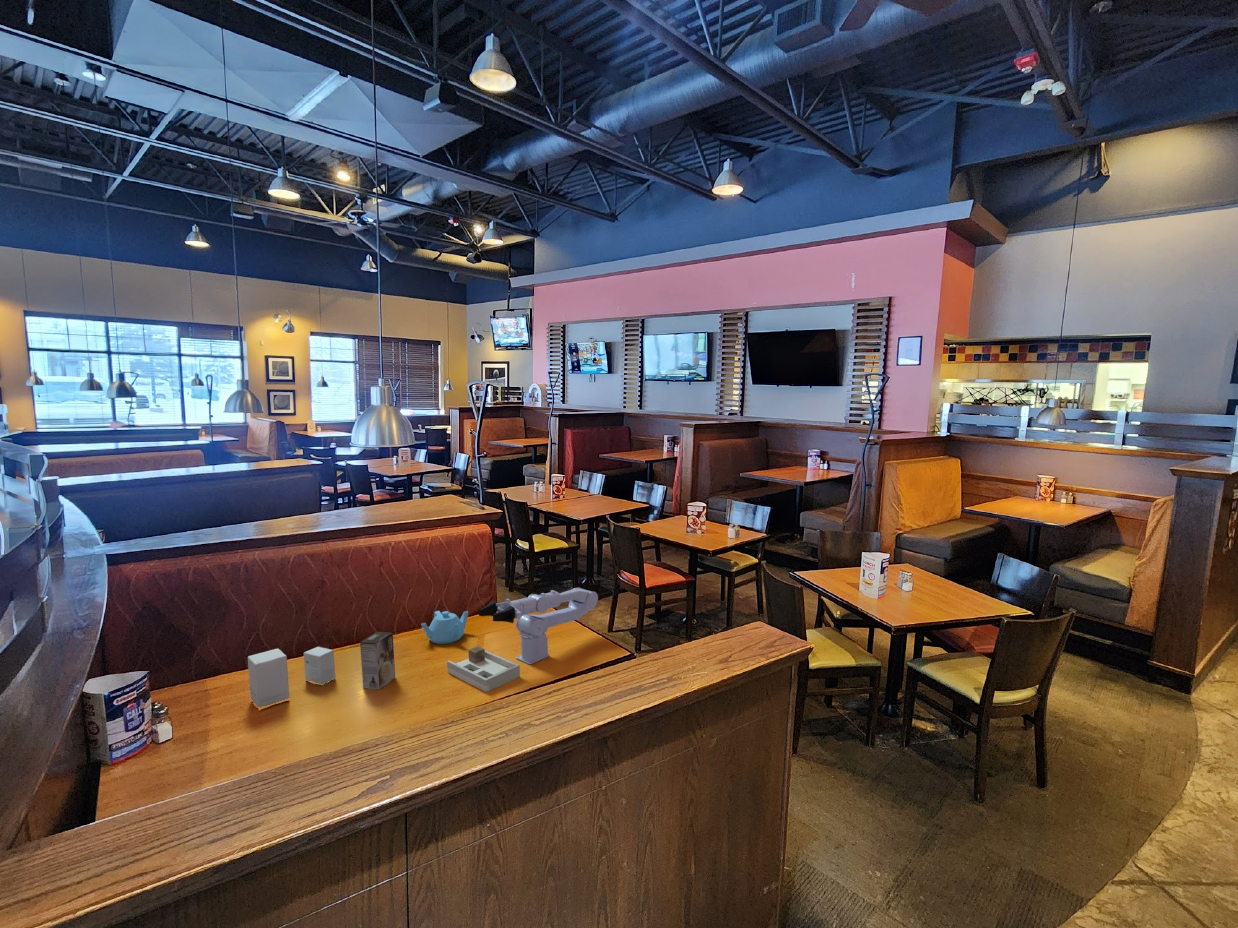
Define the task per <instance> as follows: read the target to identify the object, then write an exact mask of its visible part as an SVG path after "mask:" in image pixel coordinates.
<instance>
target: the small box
mask: <svg viewBox="0 0 1238 928" xmlns="http://www.w3.org/2000/svg"><path fill="white" fill-rule="evenodd" d="M334 654H335V653H334V650H333V649H330V648H326V647H321V646H316V647H314V648H311V649H309V650H306V651H304V652H303V663H304V665H303V666H304V676H305V681H306V680H308V681H313V682H315V683H319V684H324V683H327V682H328V681H331V680H333V681H335V680H336V679H337V677H336V676H337V675H336V666H335V665H336V664H335V655H334ZM335 678H336V679H335ZM334 679H335V680H334ZM331 682H332V681H331ZM327 684H328V683H327Z"/></svg>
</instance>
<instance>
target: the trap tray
mask: <svg viewBox="0 0 1238 928" xmlns="http://www.w3.org/2000/svg"><path fill="white" fill-rule="evenodd" d="M446 665H447V673H448V674H449V675H452V676H454V677H455V678H457V679H459V680H461V681H464V682H466V683H467V684H469V685H471V686H472V687H474V688H477V689H478V690H481V691H483V692H485V693H487V692H490V691H492V690H495V689H496V688H498V687H502V686H503V685H505V684H508V683H510V682H511V681H513V680H515V679H516V680H517V679H518V678H520V677H521V673H520V672H521V671H520V670H521V667H520V665H519V664H517V663H516V662H513V661H511V660H508V659H506V658H503V657H501V656H499V655H497V654H494V653H493V652H490V651H488V650H485V660H483V661H481V662H478V663H476V664H475V663H473V662H471V661H469V658H466V659H464V660H462V661H458V662H453V660H447V661H446Z"/></svg>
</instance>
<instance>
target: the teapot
mask: <svg viewBox="0 0 1238 928" xmlns="http://www.w3.org/2000/svg"><path fill="white" fill-rule="evenodd" d="M468 616H469V611H468V610H466V611H463V613H462V615H461V617H460V618H459V616H457V614H455V613H452V612H450V611H449V610H448V611H447V610H446V611H442V612H441V611H440V610H436V611H434V613H433V620H432V621H431V623H430V625H429V626H428V625H427V623H426V622H422V623H421V624H420V625H421V627H422V629H423V631H424V633H425V635H426V637H427V638H428V639H429V640H430V641H431V642H432V643H434V644H438V645H445V644H447V645H448V644H452V643H455V642H457V641H459V640H460V639H461V638H463V636H464V634H465V629H466V625H467V622H468V621H467V620H468Z"/></svg>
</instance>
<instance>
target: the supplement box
mask: <svg viewBox="0 0 1238 928" xmlns="http://www.w3.org/2000/svg"><path fill="white" fill-rule="evenodd" d="M247 668H248V679H249V693H250V700H251V699H252V700H253V702H254V703H255V704H256V705H257V707H262V706H267V705H270V704H273V703H276V702H279V701H282V700H285V699H288V698H290V687H289V676H288V675H289V673H288V672H289V671H288V669H289V668H288V658H287V655H286V654H285V653H283V651H282V650H281V649H279V648H274V649H271V650H267V651H263V652H258V653H255V654H252V655H248V656H247Z"/></svg>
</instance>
